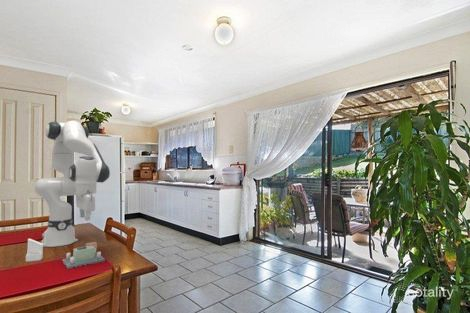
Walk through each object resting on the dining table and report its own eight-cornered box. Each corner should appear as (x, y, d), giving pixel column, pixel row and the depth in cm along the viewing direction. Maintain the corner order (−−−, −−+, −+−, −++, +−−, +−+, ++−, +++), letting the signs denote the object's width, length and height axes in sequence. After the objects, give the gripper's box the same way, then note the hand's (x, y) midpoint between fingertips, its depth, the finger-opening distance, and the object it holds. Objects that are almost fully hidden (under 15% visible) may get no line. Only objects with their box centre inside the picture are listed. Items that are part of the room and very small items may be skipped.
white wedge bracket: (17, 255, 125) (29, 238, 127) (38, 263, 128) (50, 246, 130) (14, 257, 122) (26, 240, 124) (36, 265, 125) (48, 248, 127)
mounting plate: (62, 261, 124) (62, 252, 124) (96, 254, 134) (97, 246, 134) (67, 268, 114) (68, 259, 114) (104, 261, 124) (104, 252, 125)
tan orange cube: (84, 253, 137) (84, 243, 137) (94, 251, 140) (95, 241, 140) (86, 255, 133) (87, 245, 133) (97, 253, 136) (97, 243, 137)
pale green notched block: (73, 259, 123) (73, 247, 124) (91, 255, 129) (92, 244, 129) (75, 262, 120) (75, 249, 120) (94, 258, 125) (95, 246, 125)
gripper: (99, 191, 120) (98, 221, 120) (87, 188, 135) (86, 215, 135) (83, 191, 116) (82, 223, 116) (73, 188, 131) (72, 216, 131)
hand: (84, 218), depth 125 cm, fingers open, 8 cm apart
